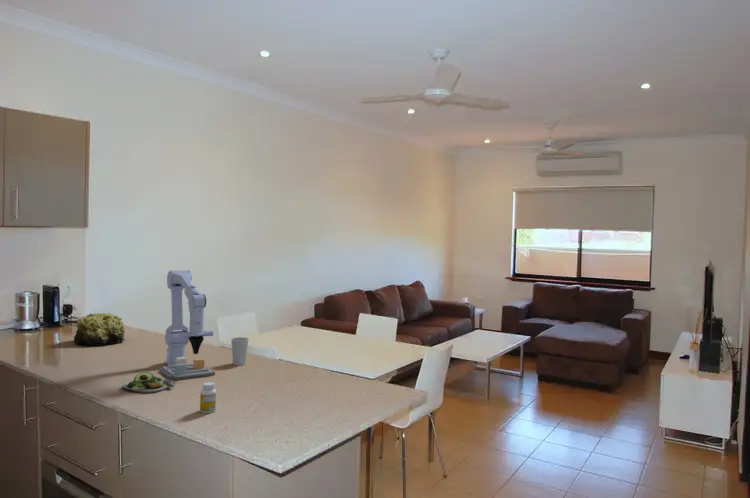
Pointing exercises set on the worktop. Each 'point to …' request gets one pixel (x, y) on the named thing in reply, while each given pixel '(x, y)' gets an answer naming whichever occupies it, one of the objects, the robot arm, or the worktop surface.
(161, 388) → the salad plate
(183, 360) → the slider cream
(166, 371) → the panel
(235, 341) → the cup
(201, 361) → the slider orange
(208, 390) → the supplement bottle
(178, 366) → the slider blue
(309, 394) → the worktop surface
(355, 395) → the worktop surface
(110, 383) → the worktop surface
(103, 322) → the mossy green rock
